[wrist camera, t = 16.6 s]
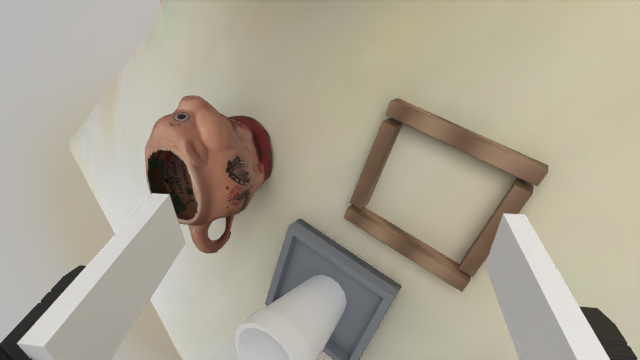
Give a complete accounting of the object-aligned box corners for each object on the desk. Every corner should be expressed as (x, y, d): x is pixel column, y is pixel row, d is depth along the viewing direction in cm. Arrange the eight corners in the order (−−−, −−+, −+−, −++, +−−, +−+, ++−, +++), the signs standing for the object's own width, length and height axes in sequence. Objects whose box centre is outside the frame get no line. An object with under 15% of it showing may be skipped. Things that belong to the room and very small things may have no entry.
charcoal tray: (275, 294, 56) (265, 303, 54) (299, 218, 48) (289, 225, 46) (358, 360, 50) (350, 373, 48) (401, 286, 42) (394, 297, 40)
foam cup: (332, 334, 50) (275, 407, 40) (289, 286, 52) (224, 344, 42) (369, 304, 45) (315, 380, 34) (320, 252, 46) (254, 308, 36)
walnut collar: (351, 211, 43) (343, 217, 41) (397, 98, 36) (390, 100, 34) (465, 281, 38) (462, 291, 36) (548, 165, 30) (548, 171, 29)
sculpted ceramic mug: (298, 228, 49) (224, 279, 38) (237, 221, 56) (160, 263, 44) (272, 83, 44) (178, 94, 33) (209, 95, 51) (113, 107, 40)
